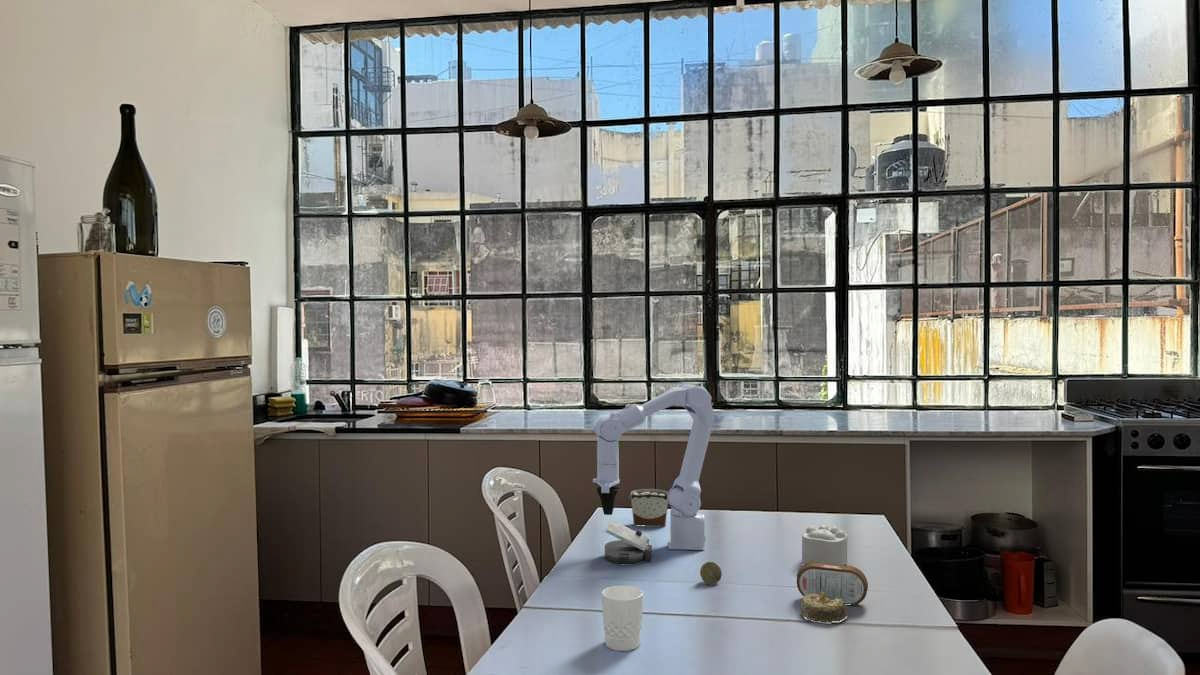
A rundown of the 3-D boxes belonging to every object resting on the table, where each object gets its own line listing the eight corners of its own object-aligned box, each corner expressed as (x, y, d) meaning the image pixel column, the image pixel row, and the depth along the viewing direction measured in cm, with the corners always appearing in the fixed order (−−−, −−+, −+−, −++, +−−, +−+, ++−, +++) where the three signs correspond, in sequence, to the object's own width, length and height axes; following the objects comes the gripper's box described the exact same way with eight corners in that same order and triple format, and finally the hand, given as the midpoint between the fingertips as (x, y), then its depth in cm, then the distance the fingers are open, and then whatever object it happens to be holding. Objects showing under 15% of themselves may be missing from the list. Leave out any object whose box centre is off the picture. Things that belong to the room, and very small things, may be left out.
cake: (840, 632, 158) (839, 606, 158) (792, 622, 164) (791, 597, 163) (853, 612, 167) (852, 587, 166) (806, 603, 172) (805, 579, 172)
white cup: (600, 636, 155) (600, 586, 154) (640, 634, 155) (640, 584, 155) (604, 653, 147) (603, 600, 146) (645, 652, 147) (645, 599, 147)
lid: (648, 541, 208) (651, 535, 208) (647, 552, 198) (650, 547, 198) (609, 521, 209) (611, 516, 209) (605, 532, 199) (608, 526, 199)
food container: (670, 521, 240) (670, 488, 239) (670, 526, 234) (670, 493, 233) (630, 520, 241) (630, 488, 241) (628, 525, 235) (628, 492, 235)
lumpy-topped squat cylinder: (797, 565, 198) (798, 531, 198) (812, 551, 209) (812, 519, 209) (839, 572, 193) (839, 537, 192) (852, 558, 204) (852, 524, 203)
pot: (652, 549, 212) (652, 537, 211) (650, 569, 195) (650, 556, 195) (607, 547, 213) (607, 536, 213) (601, 567, 196) (601, 555, 196)
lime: (723, 582, 185) (723, 561, 185) (711, 588, 182) (711, 566, 182) (708, 578, 188) (708, 557, 188) (696, 583, 185) (696, 562, 185)
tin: (867, 604, 171) (868, 565, 171) (867, 609, 168) (867, 570, 168) (796, 596, 176) (797, 559, 176) (795, 601, 173) (795, 563, 173)
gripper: (596, 457, 215) (596, 507, 216) (589, 468, 201) (589, 520, 201) (621, 458, 214) (622, 507, 215) (616, 468, 200) (617, 521, 200)
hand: (608, 514), depth 208 cm, fingers closed
